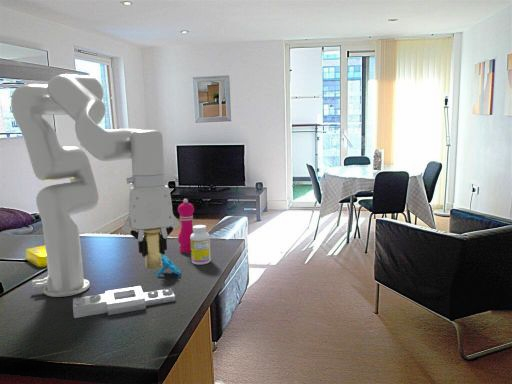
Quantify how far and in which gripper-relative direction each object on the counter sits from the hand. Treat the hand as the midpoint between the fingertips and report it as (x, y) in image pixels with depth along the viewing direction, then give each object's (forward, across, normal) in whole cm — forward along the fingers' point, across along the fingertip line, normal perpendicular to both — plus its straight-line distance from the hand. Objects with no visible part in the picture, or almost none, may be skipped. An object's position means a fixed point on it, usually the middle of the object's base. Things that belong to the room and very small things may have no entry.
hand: (153, 253), depth 113 cm
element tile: (+18, -27, +65) cm, 73 cm away
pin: (+3, 0, 0) cm, 3 cm away
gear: (+18, +11, +30) cm, 36 cm away
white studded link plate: (+17, -7, +11) cm, 21 cm away
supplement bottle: (+17, +21, +38) cm, 46 cm away
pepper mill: (+17, +20, +54) cm, 60 cm away
